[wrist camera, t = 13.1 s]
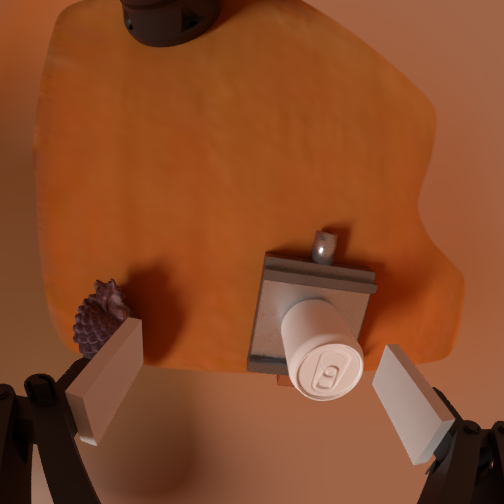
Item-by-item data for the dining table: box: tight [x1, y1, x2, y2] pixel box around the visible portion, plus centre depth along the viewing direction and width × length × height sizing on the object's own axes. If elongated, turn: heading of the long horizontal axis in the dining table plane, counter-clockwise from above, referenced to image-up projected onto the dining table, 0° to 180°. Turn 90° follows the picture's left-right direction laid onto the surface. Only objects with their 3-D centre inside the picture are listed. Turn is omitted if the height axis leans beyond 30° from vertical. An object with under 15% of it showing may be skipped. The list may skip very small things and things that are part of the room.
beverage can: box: [281, 299, 364, 401], centre depth 33 cm, size 8×8×12 cm
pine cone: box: [73, 279, 137, 359], centre depth 38 cm, size 18×10×10 cm, turn 175°
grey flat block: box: [247, 231, 378, 387], centre depth 40 cm, size 23×15×4 cm, turn 171°
